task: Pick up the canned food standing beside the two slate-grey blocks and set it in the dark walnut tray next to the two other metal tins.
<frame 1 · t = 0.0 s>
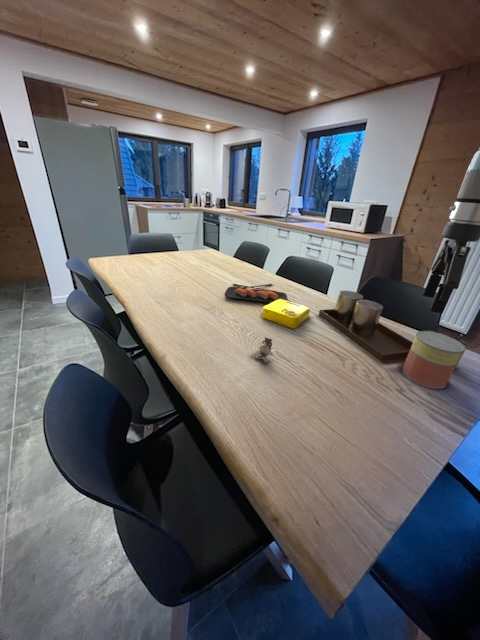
hand: (431, 303, 73), 21 cm above the table, tool pointing down, fingers open, 13 cm apart
grey block a: (442, 364, 84), on the table
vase: (264, 357, 80), on the table
tin a: (361, 331, 100), point 1 cm above the table, touching tray
sushi plate: (257, 293, 132), on the table
grey block b: (426, 352, 90), on the table
tin b: (344, 319, 108), point 1 cm above the table, touching tray
tray: (363, 334, 99), on the table
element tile: (285, 317, 108), on the table
canned food: (423, 376, 78), on the table
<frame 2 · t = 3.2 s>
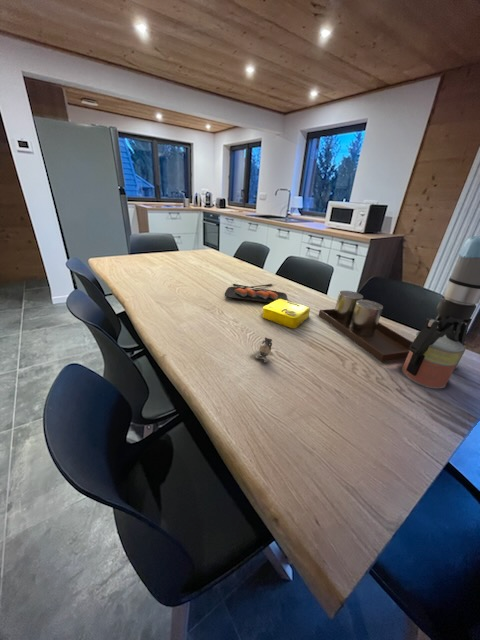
hand: (425, 370, 77), 2 cm above the table, tool pointing down, fingers closed on canned food, 11 cm apart
canned food: (423, 376, 78), on the table, touching gripper
everything else where it was.
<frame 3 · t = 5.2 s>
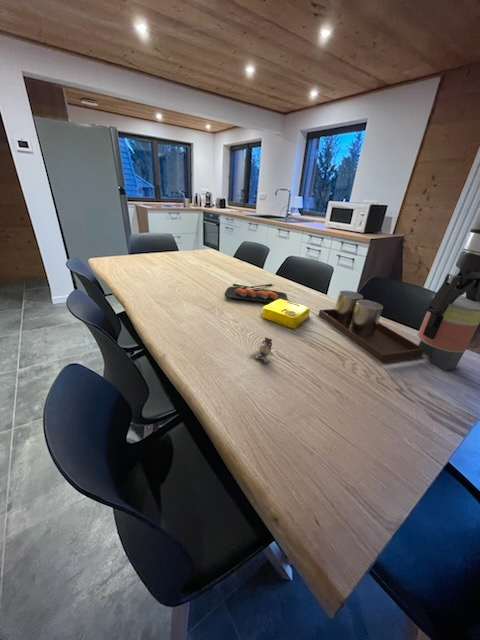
hand: (443, 334, 72), 14 cm above the table, tool pointing down, fingers closed on canned food, 11 cm apart
canned food: (440, 341, 73), point 12 cm above the table, touching gripper
everything else where it was.
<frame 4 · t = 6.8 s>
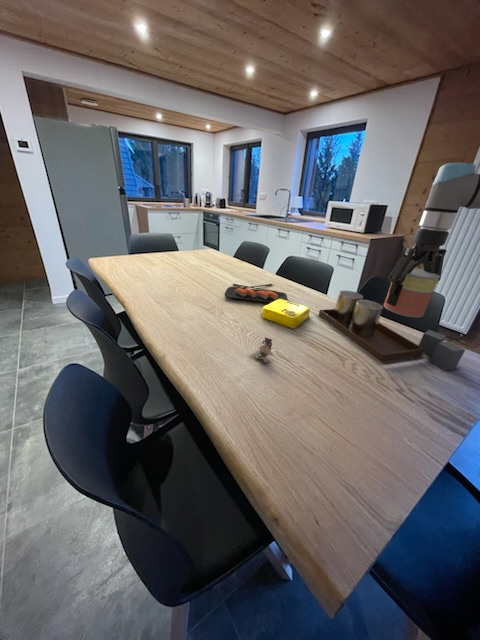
hand: (405, 303, 81), 18 cm above the table, tool pointing down, fingers closed on canned food, 11 cm apart
canned food: (402, 310, 82), point 15 cm above the table, touching gripper
everything else where it was.
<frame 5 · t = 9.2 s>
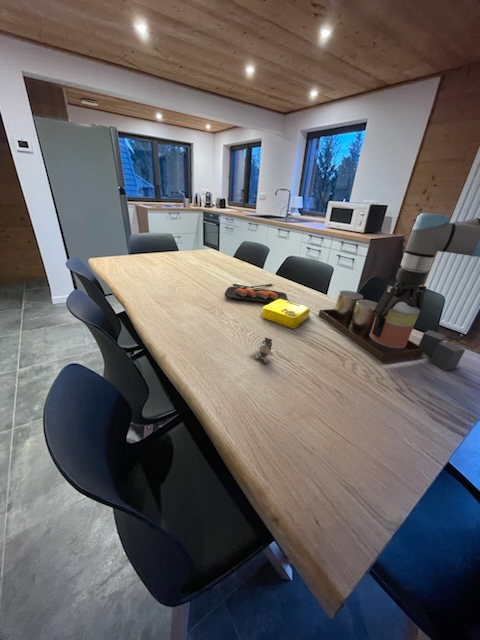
hand: (389, 333, 88), 6 cm above the table, tool pointing down, fingers closed on canned food, 11 cm apart
canned food: (387, 339, 89), point 4 cm above the table, touching gripper
everything else where it was.
when the fingers open (3 cm above the table, at t = 10.7 s): canned food stays where it is, resting on tray.
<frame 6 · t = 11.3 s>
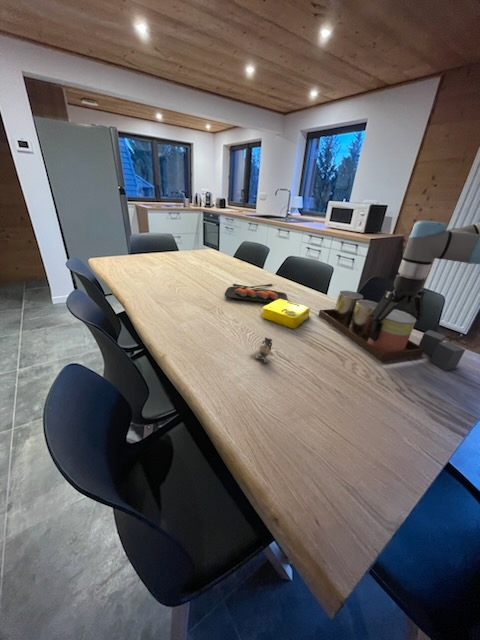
hand: (388, 337, 88), 5 cm above the table, tool pointing down, fingers open, 13 cm apart
canned food: (384, 347, 90), point 1 cm above the table, touching tray
everything else where it was.
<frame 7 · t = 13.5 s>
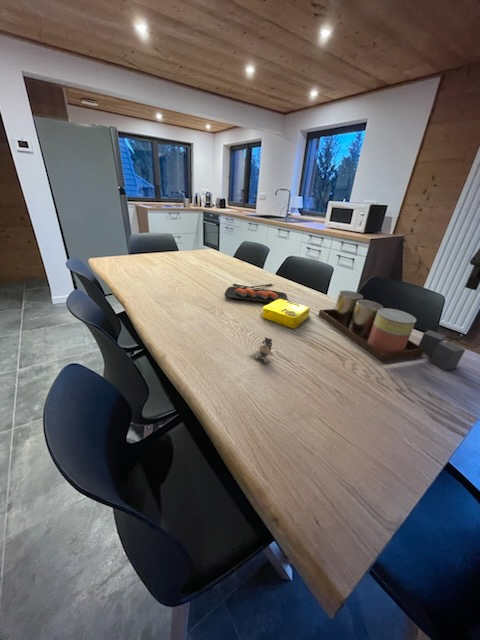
nothing on the table moved.
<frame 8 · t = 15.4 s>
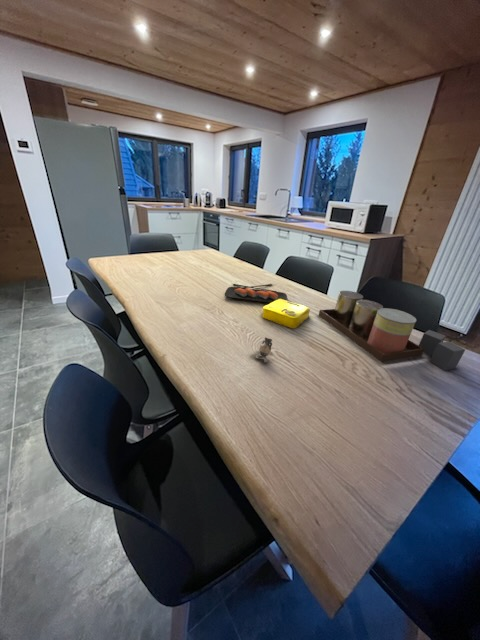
nothing on the table moved.
at the end: canned food inside the target area in the tray (0.0 cm from its centre), point 0.6 cm above the tray's base; canned food tilted 0°; the gripper is holding nothing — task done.
